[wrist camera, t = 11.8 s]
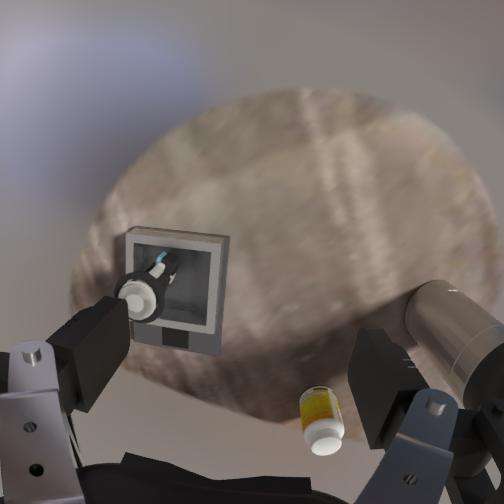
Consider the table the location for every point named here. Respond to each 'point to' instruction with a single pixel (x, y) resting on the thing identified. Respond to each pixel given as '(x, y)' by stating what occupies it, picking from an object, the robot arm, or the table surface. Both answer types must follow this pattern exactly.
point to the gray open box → (183, 287)
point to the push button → (147, 289)
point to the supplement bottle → (321, 420)
